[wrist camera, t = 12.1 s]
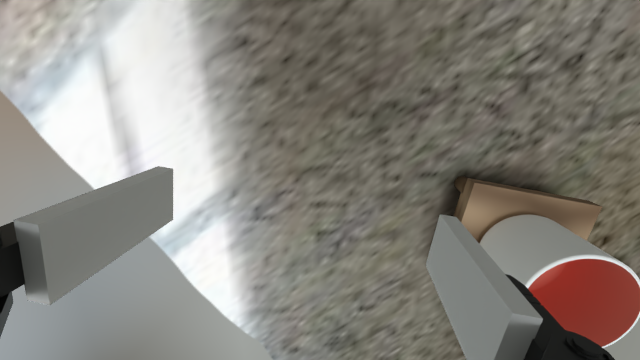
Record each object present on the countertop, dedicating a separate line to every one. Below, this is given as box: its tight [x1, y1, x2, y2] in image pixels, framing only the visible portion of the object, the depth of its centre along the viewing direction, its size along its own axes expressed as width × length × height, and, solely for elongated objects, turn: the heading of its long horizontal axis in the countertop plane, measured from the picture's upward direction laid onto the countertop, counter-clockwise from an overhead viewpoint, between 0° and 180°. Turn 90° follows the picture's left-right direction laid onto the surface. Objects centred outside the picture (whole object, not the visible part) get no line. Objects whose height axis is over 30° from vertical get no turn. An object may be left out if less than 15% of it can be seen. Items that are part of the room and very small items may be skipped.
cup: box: [480, 215, 640, 348], centre depth 30 cm, size 10×10×10 cm
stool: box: [453, 176, 602, 244], centre depth 39 cm, size 14×14×8 cm
